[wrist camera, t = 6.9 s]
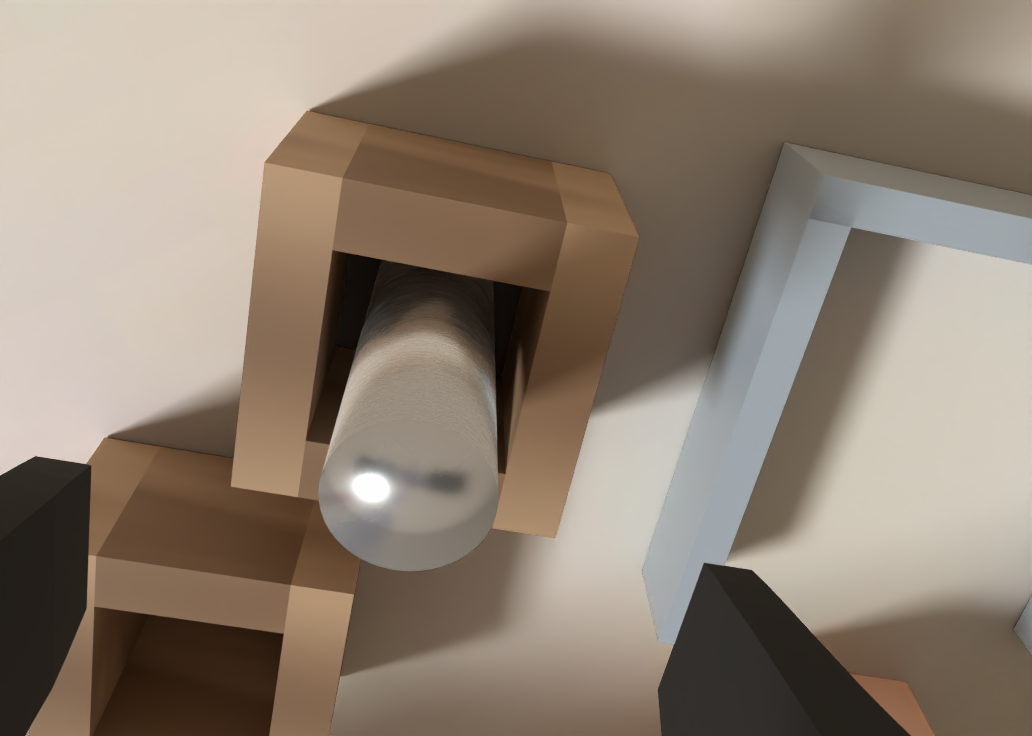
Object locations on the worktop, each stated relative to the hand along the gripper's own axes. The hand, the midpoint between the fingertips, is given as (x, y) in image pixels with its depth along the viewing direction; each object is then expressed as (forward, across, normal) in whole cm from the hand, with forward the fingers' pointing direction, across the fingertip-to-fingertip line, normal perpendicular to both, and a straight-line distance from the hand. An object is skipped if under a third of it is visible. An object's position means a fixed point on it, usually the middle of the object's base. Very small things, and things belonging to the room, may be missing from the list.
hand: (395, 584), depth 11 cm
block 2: (+10, 0, 0) cm, 10 cm away
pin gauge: (+10, 0, 0) cm, 10 cm away
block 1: (+10, +4, +8) cm, 13 cm away
